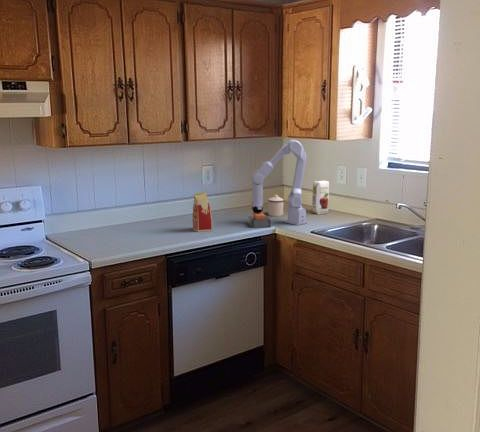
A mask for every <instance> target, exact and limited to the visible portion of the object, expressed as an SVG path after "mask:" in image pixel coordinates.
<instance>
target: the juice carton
mask: <svg viewBox="0 0 480 432" xmlns="http://www.w3.org/2000/svg"><path fill="white" fill-rule="evenodd" d="M311 200H312V202H311V203H312V204H311V210H312V211H311V212H312V214H314V215H317V216H318V215H327V214H329V207H330V204H329V202H330V181H327V180H323V179H322V180H318V181H317V180H313V182H312V199H311Z"/></svg>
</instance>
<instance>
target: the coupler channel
mask: <svg viewBox="0 0 480 432" xmlns="http://www.w3.org/2000/svg"><path fill="white" fill-rule="evenodd" d="M247 219H248V220H247V221H248V223H247V224H248V225H249V226H250V228H252V229H254V228H255V229H256V228H257V229H259V228H263V229H264V228H271V218H269V216H268V215H265V219H260V220H254V219H253V216H248V218H247Z"/></svg>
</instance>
